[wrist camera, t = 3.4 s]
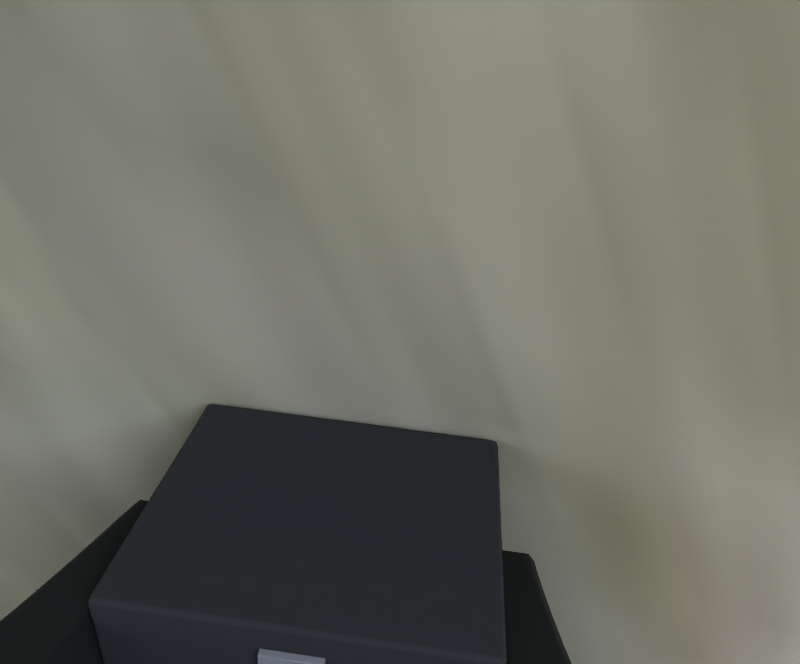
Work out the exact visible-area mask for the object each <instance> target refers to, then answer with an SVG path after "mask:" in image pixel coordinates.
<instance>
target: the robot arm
mask: <svg viewBox="0 0 800 664" xmlns="http://www.w3.org/2000/svg"><path fill="white" fill-rule="evenodd" d="M148 502H149V501H144V500H140V501H138V502H137V503H135V504H134V505H133V506H132V507H131V508H130V509H128V510H127V511H126V512H125V513H124V514H123V515H122V516H121V517H120V518H118V519H117V520H116V521H115V522H114V523H113V524H112V525H111V526H110V527H108V528H107V529H106V530H105V531H104V532H103V533H102V534H101V535H100V536H98V537H97V538H96V539H95V540H94V541H93V542H92V543H91V544H90V545H88V546H87V547H86V548H85V549H84V550H83V551H82V552H81V553H79V554H78V555H77V556H76V557H75V558H74V559H73V560H72V561H70V562H69V563H68V564H67V565H66V566H65V567H64V568H62V569H61V570H60V571H59V572H58V573H57V574H55V575H54V576H53V577H52V578H51V579H50V580H48V581H47V582H46V583H45V584H44V585H43V586H41V587H40V588H39V589H38V590H37V591H36V592H34V593H33V594H32V595H31V596H30V597H28V598H27V599H26V600H25V601H24V602H23V603H21V604H20V605H19V606H18V607H17V608H16V609H14V610H13V611H12V612H11V613H9V614H8V615H7V616H6V617H5V618H3V619H2V620H1V621H0V664H103V660H102V657H101V653H100V649H99V645H98V641H97V637H96V633H95V629H94V625H93V621H92V617H91V613H90V609H89V605H88V601H89V598H90V596H91V594H92V592H93V591H94V589H95V588H96V586H97V584H98V583H99V581H100V579H101V578H102V576H103V575H104V573H105V571H106V570H107V568H108V566H109V565H110V563H111V562H112V560H113V558H114V557H115V555H116V553H117V552H118V550H119V549H120V547H121V545H122V544H123V542H124V540H125V539H126V537H127V536H128V534H129V532H130V531H131V529H132V527H133V526H134V524H135V523H136V521H137V519H138V518H139V516H140V515H141V513H142V511H143V510H144V508H145V506H146V505H147V503H148ZM502 561H503V585H504V608H505V632H506V656H507V662H506V664H571V661H570V659H569V657H568V654H567V652H566V649H565V647H564V645H563V642H562V640H561V637H560V635H559V632H558V629H557V627H556V624H555V622H554V619H553V617H552V614H551V611H550V608H549V606H548V603H547V600H546V597H545V594H544V591H543V589H542V586H541V582H540V579H539V576H538V573H537V570H536V566H535V563H534V560H533V559H532V558H531V557H530V555H529V554H525V553H518V552H511V551H503V550H502Z"/></svg>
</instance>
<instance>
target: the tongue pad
mask: <svg viewBox="0 0 800 664" xmlns="http://www.w3.org/2000/svg"><path fill="white" fill-rule="evenodd" d="M88 605H89V609H90V613H91V617H92V621H93V625H94V629H95V633H96V637H97V641H98V645H99V649H100V653H101V657H102V660H103V664H506V662H507V656H506V632H505V608H504V585H503V561H502V537H501V513H500V489H499V465H498V446H497V443H496V442H495V441H490V440H482V439H474V438H467V437H459V436H451V435H444V434H436V433H428V432H421V431H413V430H405V429H398V428H390V427H382V426H375V425H367V424H359V423H352V422H344V421H336V420H329V419H321V418H313V417H306V416H298V415H290V414H283V413H275V412H267V411H260V410H252V409H244V408H237V407H229V406H221V405H214V404H211V405H208V406H207V407H206V409H205V411H204V412H203V414H202V415H201V417H200V419H199V420H198V422H197V424H196V425H195V427H194V428H193V430H192V432H191V433H190V435H189V437H188V438H187V440H186V441H185V443H184V445H183V446H182V448H181V450H180V451H179V453H178V454H177V456H176V458H175V459H174V461H173V463H172V464H171V466H170V467H169V469H168V471H167V472H166V474H165V476H164V477H163V479H162V480H161V482H160V484H159V485H158V487H157V489H156V490H155V492H154V493H153V495H152V497H151V498H150V500H149V502H148V503H147V505H146V506H145V508H144V510H143V511H142V513H141V515H140V516H139V518H138V519H137V521H136V523H135V524H134V526H133V527H132V529H131V531H130V532H129V534H128V536H127V537H126V539H125V540H124V542H123V544H122V545H121V547H120V549H119V550H118V552H117V553H116V555H115V557H114V558H113V560H112V562H111V563H110V565H109V566H108V568H107V570H106V571H105V573H104V575H103V576H102V578H101V579H100V581H99V583H98V584H97V586H96V588H95V589H94V591H93V592H92V594H91V596H90V598H89V601H88Z"/></svg>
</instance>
